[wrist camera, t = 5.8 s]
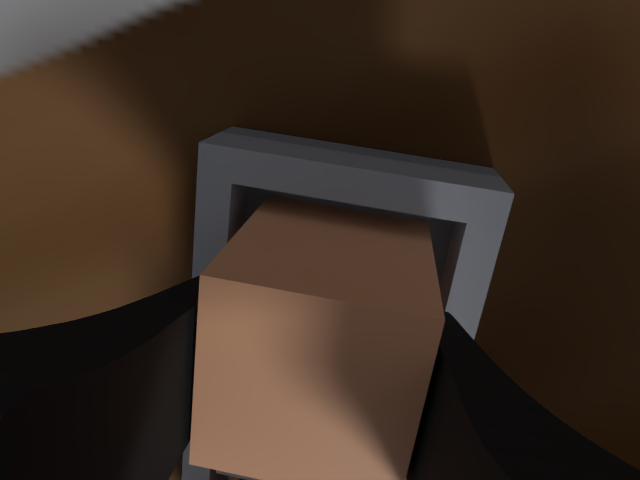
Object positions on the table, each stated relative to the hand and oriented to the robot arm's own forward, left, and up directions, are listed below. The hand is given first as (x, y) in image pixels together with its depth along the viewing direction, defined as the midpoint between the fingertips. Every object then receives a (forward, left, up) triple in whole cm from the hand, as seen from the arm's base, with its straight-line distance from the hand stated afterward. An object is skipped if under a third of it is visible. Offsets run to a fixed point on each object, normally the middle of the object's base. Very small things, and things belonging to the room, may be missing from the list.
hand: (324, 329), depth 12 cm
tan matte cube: (0, 0, -2) cm, 2 cm away
